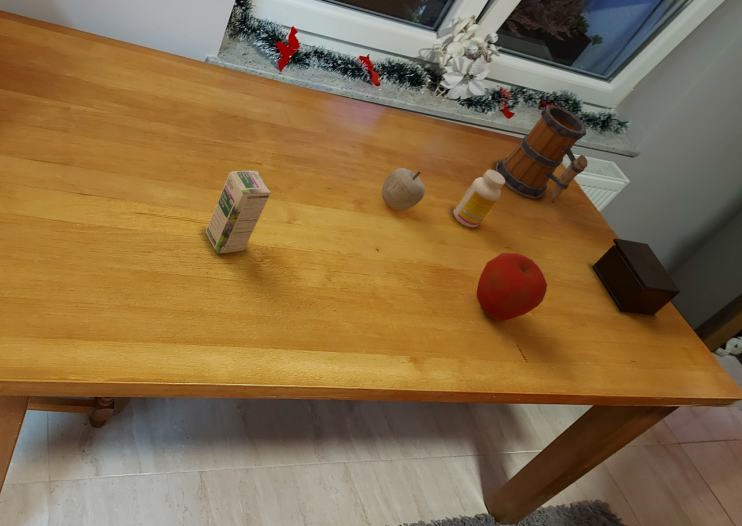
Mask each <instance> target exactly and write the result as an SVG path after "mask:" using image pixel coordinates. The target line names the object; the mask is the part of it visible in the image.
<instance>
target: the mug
mask: <svg viewBox="0 0 742 526" xmlns="http://www.w3.org/2000/svg"><path fill="white" fill-rule="evenodd" d="M540 114H541V116H540V118H539V119H538V121H537V122H536V123H535V125H534V126H533V127H532V129H531V130H530V132H529V133H528V134H525V135H524V137H523V138H522V139H521V141H520V142H519V144H518V145H517V146H516V147H515V148H514V150H512V151H511V152H510V153H509V155H508V156H506V157H504V158H503V159H502V160H501V161H499V162H497V163H495V170H494V171H496V172H498V173H500V174H501V175H502V176H503V177H504V179H505V183H504V185H505V186H506V187H508V188H509V189H510V191H512V192H515V193H517V194H519V195H520V196H522V197H525V198H528V199H534V200H537V199H539V198H541V197H543V196H544V194H545V191H547V189H548V186H547V184H548V182H549V181H550V180H552V181H553V182H554V183H555V187H554V189H553V191H552V194H551V204H554V203H555V202H556V200H557V199H558V198H559V196H560V195H561V194H563V191H565V190H567V189H568V187H569V185H570V184H571V182H572V181H573V180H574V179H575V178H576V177H577V176H578V175H580V174H581V173H583V172H584V171H585V169H586V168H587V167H588V159H587V157H586V156H585V155H583V154H581V155H579V156H578V157H577V158H576V157H575V154H574V153H573V151H572V148H573V146H575V144H576V143H577V142H578V141H580V140H581V139H582V138H583V137H585V136H586V135H587V126H586V125H585V124H584V122H583V121H582V120H581V118H579V117H578V116H577V115H576V114H574V113H573V112H571V111H570V110H568V109H565V108H564V107H562V106H557V105H553V104H552V105H551V104H550V105H548V106H546V107H545V108H544V109H542V110H541V112H540ZM565 156H567V158H568V159H569V161H570V163H569V165H568V166H567V168H566V169H565V170H564V171H563V172H562V173H561V175H560V177H558V176H556V175H554V173H555V171H556V170H557V168H558V167H559V166H560V165H561V164H562V162H563V161H564V157H565Z"/></svg>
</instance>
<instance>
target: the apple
mask: <svg viewBox="0 0 742 526" xmlns="http://www.w3.org/2000/svg"><path fill="white" fill-rule="evenodd" d="M547 289H548V283H547V280H546V277H545V276H544V273H543V271H542V270H541V268H540V267H539V265H538V264H537V263H536V262H535V261H534V260H533V259H531V258H530V257H527V256H526V255H523V254H520V253H518V252H517V253H515V252H501V253H499V254H498V255H496V256H495V257H493V258H492V259H490V260H488V261H487V262H486V264H485V266H484V268H483V270H482V271H481V274H480V275H479V279H478V283H477V290H476V299H477V301H478V304H479V306H480V308H481V310H482V311H483V312H484V313H485V314H486V315H487V316H489V317H490V318H493V319H495V320H499V321H503V322H505V321H510V320H513V319H517V318H518V317H522V316H524V315H526V314H528V313H530V312H531V311H533V310H534V309H536V308H537V307H539V306H540V304H542V302H543V301H544V299H545V296H546V293H547Z"/></svg>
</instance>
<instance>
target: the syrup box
mask: <svg viewBox="0 0 742 526" xmlns="http://www.w3.org/2000/svg"><path fill="white" fill-rule="evenodd" d="M271 193H272V192H271V190H270V189H269V188H268V186H267V185H266V183H265V181H264V179H263V178H262V176H261V175H260V173H259V172H258V170H234V171H230V172H229V173H228V176H227V178H226V180H225V183H224V185H223V188H222V190H221V193H220V195H219V198H218V200H217V203H216V205H215V207H214V209H213V212H212V214H211V217H210V220H209V222H208V224H207V226H206V229H205V234H206V235H207V237H208V240H209V242H210V244H211V246H212V247H213V249H214V251H215V252H216V254H218V255H220V254H227V253H236V252H242V251H244V250H245V249H246V246H247V244H248V242H249V240H250V238H251V236H252V233H253V232H254V230H255V229H256V225H257V223H258V221H259V219H260V217H261V214H262V213H263V212H264V211H263V210H264V208H265V206H266V204H267V202H268V200H269V198H270V196H271Z"/></svg>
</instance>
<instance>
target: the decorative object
mask: <svg viewBox="0 0 742 526" xmlns="http://www.w3.org/2000/svg"><path fill="white" fill-rule="evenodd" d="M421 173H422V171H421V170H418V171H417V172H416V173H414V172H413V171H412V170H410V169H408V168H405V167H399V168H395V169H393V170H392V171H391V172H390V173H389V174H388V175H387V177H386V178H385V180H384V182H383V185H382V188H381V197H382V199H383V201H384V203H385V204H386V205H387V207H389V208H390V209H392V210H395V211H406V210H409V209H411V208H413V207H415V206H417V204H419V203H420V202H421V201H422V200H423V198H424V197H425V194H426V193H425V192H426V187H425V184H424V183H423V181H422V180H421V179H420V177H419V175H420V174H421Z"/></svg>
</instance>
